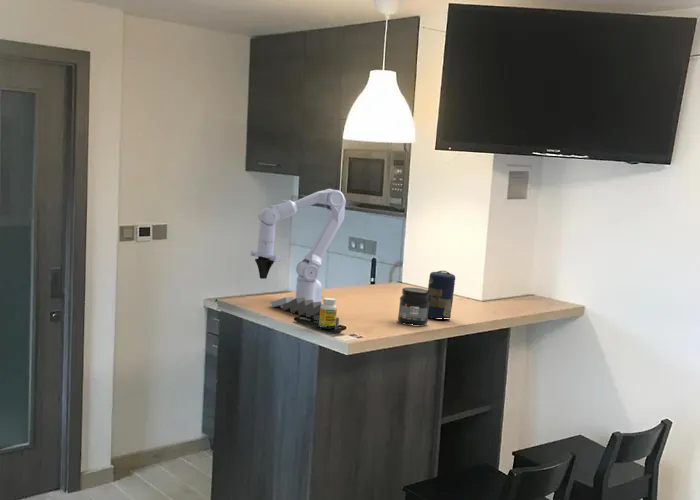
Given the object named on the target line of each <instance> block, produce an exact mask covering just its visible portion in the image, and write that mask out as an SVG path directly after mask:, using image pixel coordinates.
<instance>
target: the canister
mask: <svg viewBox="0 0 700 500" xmlns="http://www.w3.org/2000/svg"><path fill="white" fill-rule="evenodd" d="M455 285H456V276H455V275H454V274H453V273H451V272H449V271H448V270H447V271H446V270H438V271H432V272H430V273H429V279H428V286H427V290H428V291H429V297H428V299H429V300H430V304H429V311H428V318H429V317H432V318H442V319H444V318H450V319H451V316H452V308H453V302H454V301H453V300H454V292H455ZM432 318H431V319H432Z"/></svg>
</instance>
